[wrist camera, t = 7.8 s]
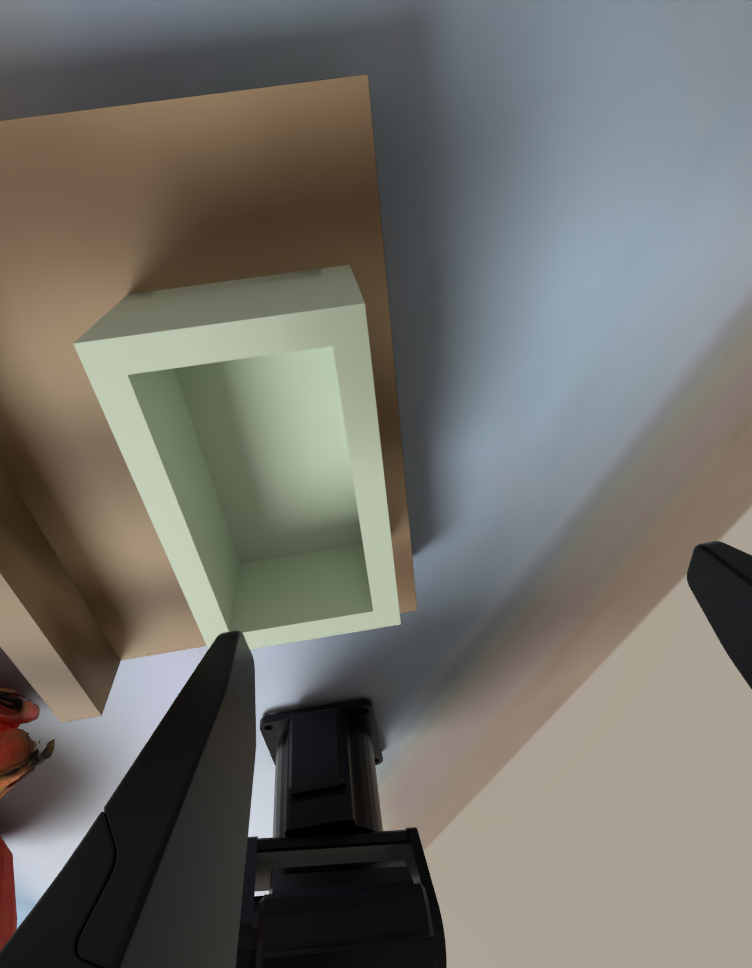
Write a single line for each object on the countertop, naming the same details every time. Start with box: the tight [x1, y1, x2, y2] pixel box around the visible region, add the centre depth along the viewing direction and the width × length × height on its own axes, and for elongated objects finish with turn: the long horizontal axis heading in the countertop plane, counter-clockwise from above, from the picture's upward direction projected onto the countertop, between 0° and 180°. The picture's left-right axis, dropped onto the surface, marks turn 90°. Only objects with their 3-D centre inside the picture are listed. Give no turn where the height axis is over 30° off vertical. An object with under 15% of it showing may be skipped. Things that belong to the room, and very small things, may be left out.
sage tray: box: [73, 265, 401, 649], centre depth 15 cm, size 10×6×4 cm, turn 6°
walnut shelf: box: [0, 74, 417, 723], centre depth 17 cm, size 18×14×6 cm
